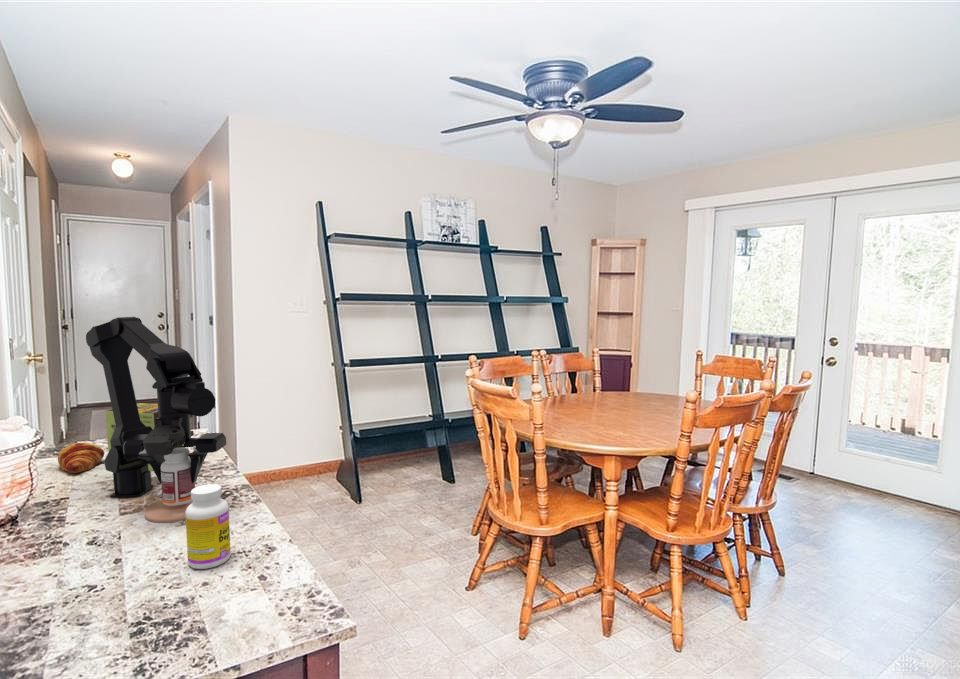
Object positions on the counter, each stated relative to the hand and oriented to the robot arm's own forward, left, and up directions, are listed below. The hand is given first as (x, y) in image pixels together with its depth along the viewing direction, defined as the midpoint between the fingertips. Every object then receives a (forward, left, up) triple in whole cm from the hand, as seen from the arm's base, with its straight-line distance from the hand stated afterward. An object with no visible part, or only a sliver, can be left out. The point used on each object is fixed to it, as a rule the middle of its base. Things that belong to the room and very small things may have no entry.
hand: (178, 482), depth 115 cm
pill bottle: (0, 0, -4) cm, 4 cm away
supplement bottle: (+16, -23, -6) cm, 29 cm away
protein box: (-24, +33, -6) cm, 41 cm away
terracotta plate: (0, 0, -6) cm, 6 cm away
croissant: (-41, +33, -6) cm, 53 cm away
